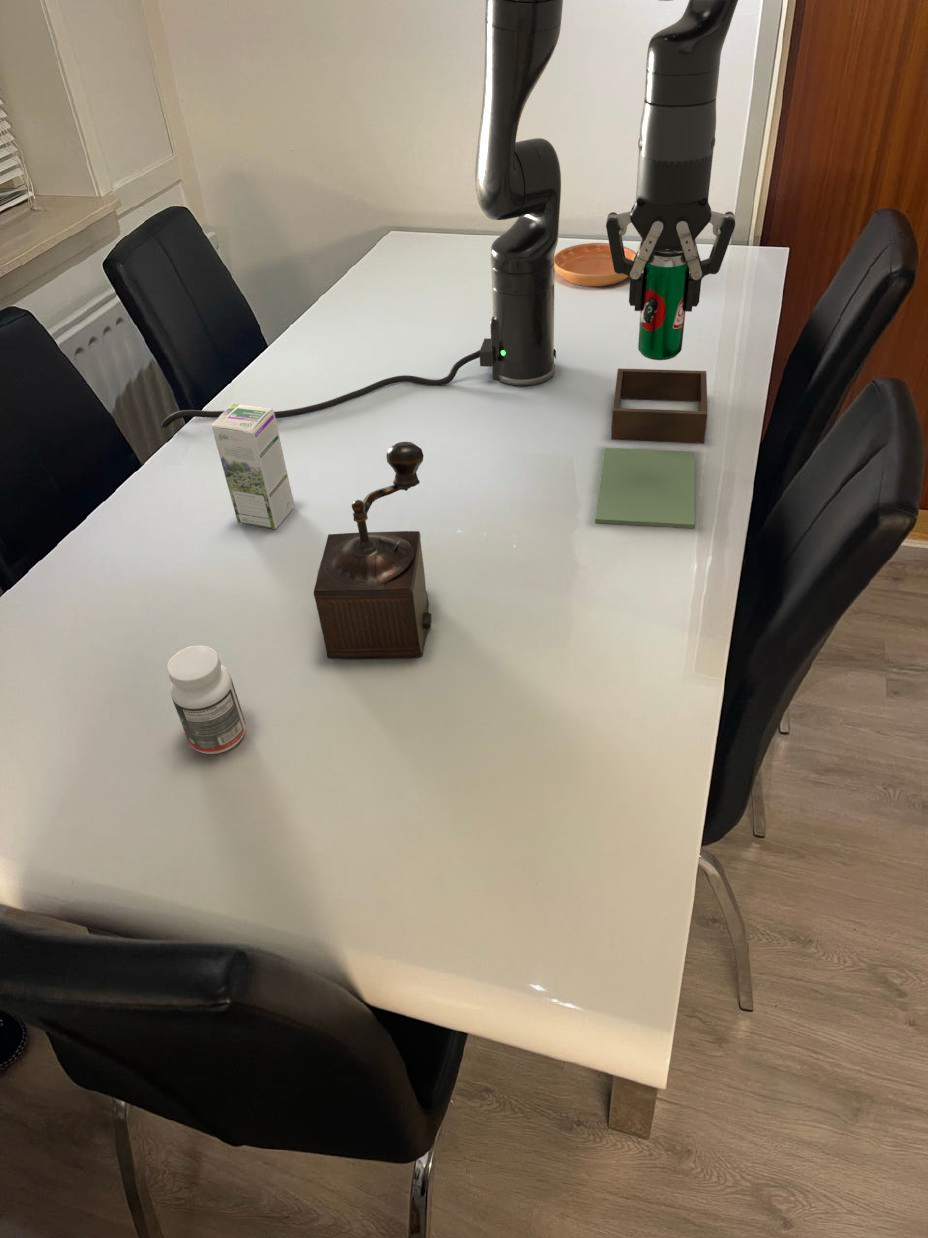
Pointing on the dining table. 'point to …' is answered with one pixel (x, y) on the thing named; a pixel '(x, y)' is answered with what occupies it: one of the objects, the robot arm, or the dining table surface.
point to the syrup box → (254, 465)
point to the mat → (647, 488)
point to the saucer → (589, 264)
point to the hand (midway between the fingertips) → (662, 307)
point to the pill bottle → (205, 700)
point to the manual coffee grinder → (375, 580)
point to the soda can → (663, 305)
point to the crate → (654, 420)
